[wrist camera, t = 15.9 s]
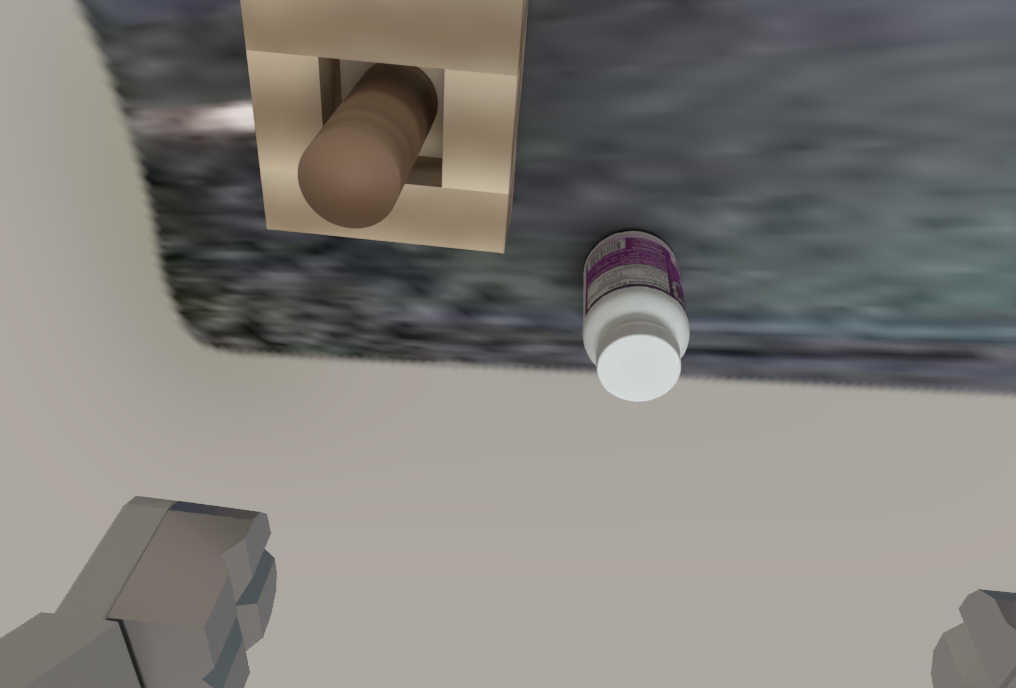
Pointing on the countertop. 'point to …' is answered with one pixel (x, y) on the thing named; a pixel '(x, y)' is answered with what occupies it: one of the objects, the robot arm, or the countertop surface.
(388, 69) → the peg
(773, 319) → the countertop surface
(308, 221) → the socket block
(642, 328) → the pill bottle
